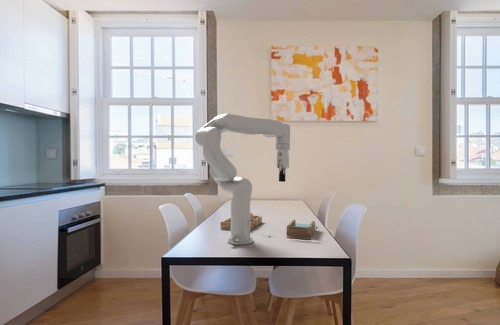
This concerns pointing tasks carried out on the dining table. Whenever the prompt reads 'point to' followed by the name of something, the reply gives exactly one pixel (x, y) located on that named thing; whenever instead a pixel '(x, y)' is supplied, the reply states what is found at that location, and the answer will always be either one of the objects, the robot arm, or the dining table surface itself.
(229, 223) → the vegetable crate
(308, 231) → the box
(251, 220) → the squash
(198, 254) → the dining table surface
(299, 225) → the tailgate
